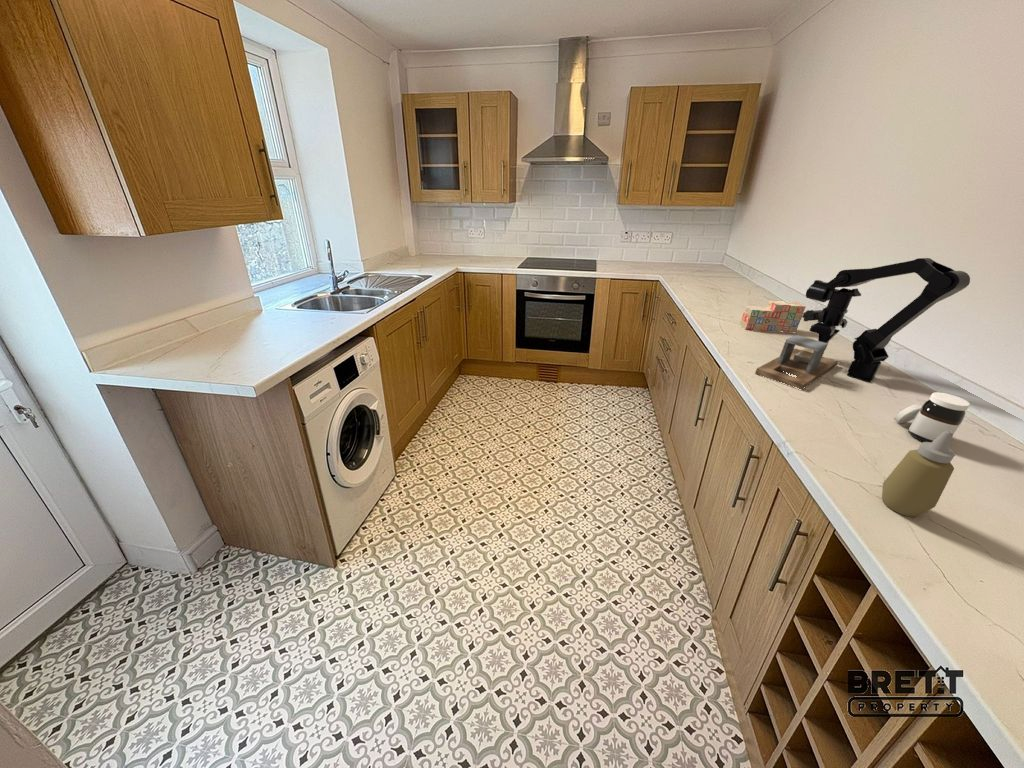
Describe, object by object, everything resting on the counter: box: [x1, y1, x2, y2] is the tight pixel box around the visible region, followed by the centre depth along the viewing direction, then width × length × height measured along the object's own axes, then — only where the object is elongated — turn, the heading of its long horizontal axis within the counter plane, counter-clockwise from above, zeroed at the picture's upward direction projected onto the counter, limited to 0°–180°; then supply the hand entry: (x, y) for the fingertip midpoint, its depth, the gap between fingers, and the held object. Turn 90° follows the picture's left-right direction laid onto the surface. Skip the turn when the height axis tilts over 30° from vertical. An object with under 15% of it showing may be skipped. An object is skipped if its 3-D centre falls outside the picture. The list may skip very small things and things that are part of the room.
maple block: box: [799, 347, 814, 359], centre depth 141 cm, size 4×4×4 cm
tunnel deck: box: [754, 334, 839, 390], centre depth 137 cm, size 14×32×11 cm, turn 128°
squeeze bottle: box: [881, 431, 956, 518], centre depth 77 cm, size 8×8×18 cm
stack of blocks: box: [739, 300, 806, 333], centre depth 175 cm, size 21×6×12 cm, turn 85°
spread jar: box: [893, 391, 971, 443], centre depth 104 cm, size 12×11×12 cm
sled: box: [793, 341, 830, 364], centre depth 144 cm, size 6×18×6 cm, turn 128°
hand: (819, 347), depth 147 cm, fingers closed
